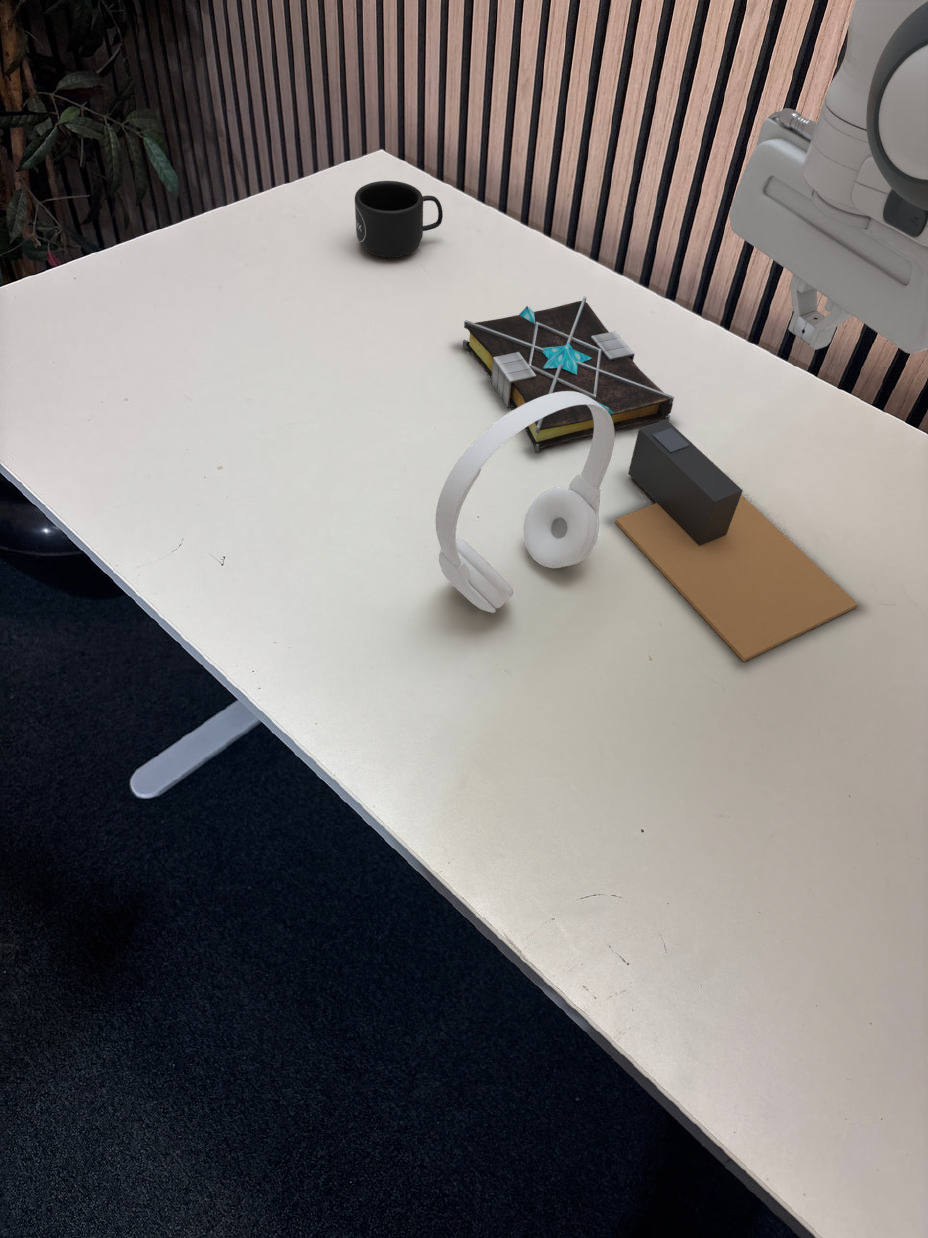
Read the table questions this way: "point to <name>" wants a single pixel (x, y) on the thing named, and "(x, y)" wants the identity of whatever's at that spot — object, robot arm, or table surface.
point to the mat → (741, 577)
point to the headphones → (554, 520)
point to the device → (684, 482)
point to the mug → (391, 218)
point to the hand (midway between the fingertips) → (807, 338)
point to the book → (565, 369)
